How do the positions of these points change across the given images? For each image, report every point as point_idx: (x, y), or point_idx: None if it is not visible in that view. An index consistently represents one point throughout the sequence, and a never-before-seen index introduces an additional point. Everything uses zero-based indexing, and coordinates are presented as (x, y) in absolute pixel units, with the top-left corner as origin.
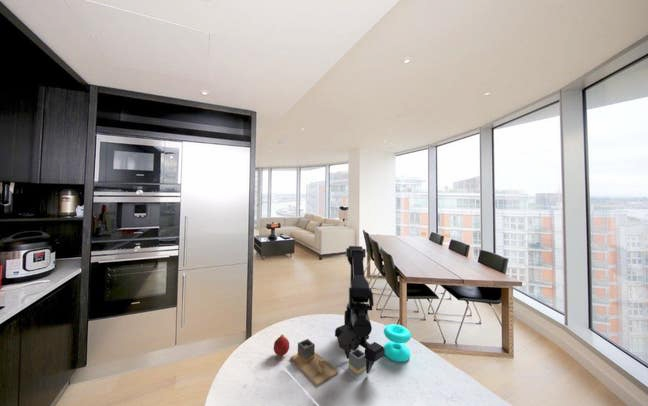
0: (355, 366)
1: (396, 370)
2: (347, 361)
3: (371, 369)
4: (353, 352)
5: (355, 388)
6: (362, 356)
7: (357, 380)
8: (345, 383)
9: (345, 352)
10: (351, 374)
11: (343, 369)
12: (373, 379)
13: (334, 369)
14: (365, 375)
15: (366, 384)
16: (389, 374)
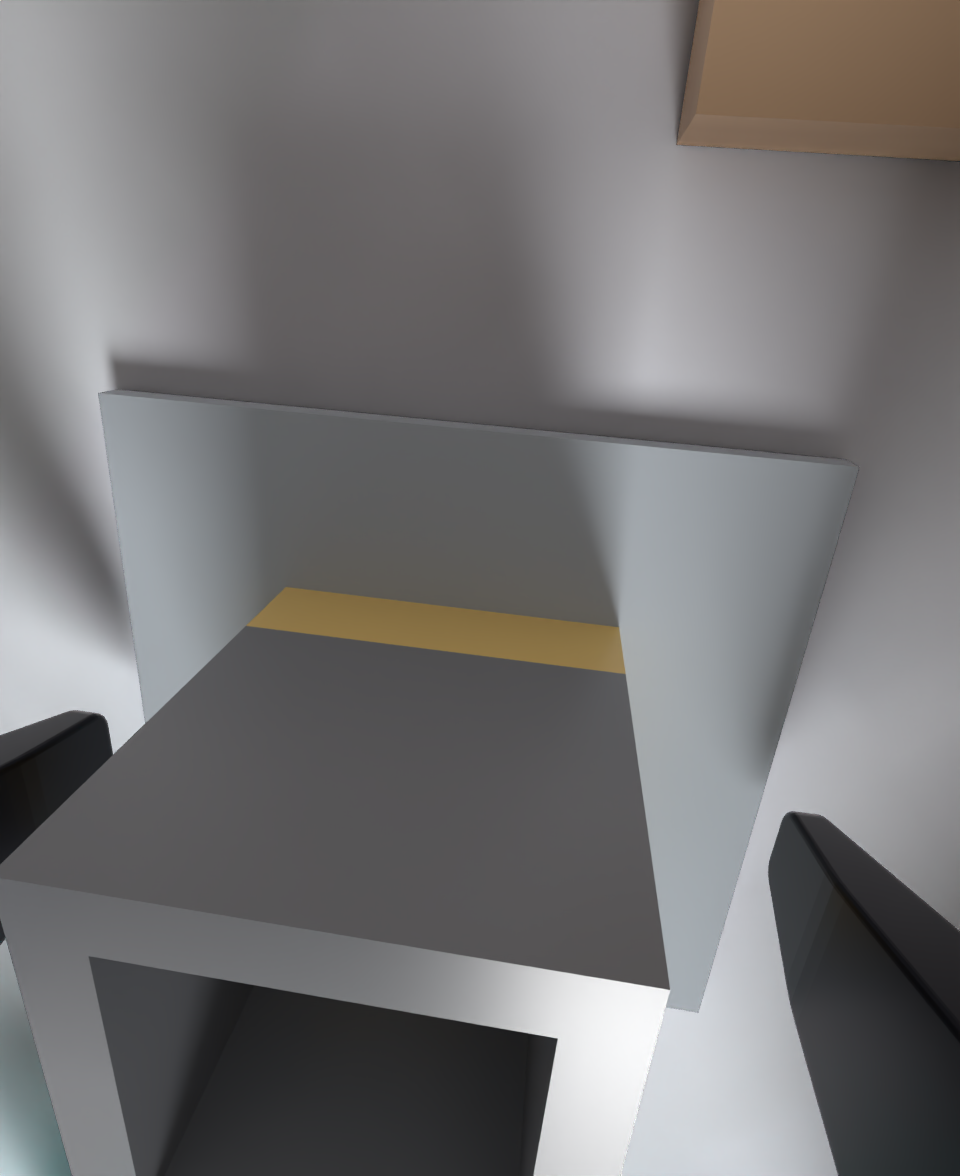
0: (323, 670)
1: (28, 1074)
2: (768, 763)
3: None
4: (544, 1103)
5: (17, 165)
6: (69, 1101)
7: (140, 405)
8: (293, 66)
9: (955, 947)
10: (383, 461)
11: (672, 450)
12: (45, 708)
13: (888, 84)
14: (160, 673)
15: (3, 494)
16: (11, 961)
